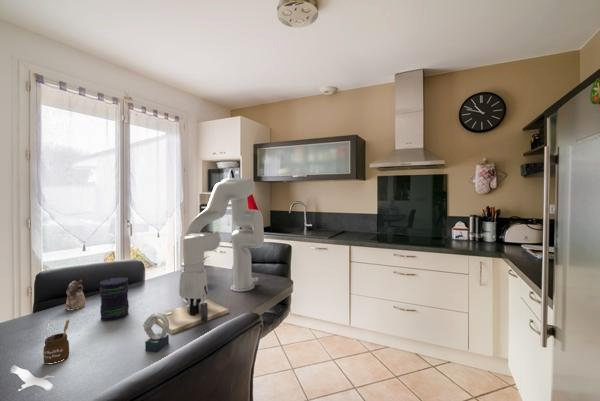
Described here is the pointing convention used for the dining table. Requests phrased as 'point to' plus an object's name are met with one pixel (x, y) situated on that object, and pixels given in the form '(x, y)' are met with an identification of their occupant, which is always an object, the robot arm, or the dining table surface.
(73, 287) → the figurine
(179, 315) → the cutting board
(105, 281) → the storage jar
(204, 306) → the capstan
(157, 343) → the white ring on base
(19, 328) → the dining table surface
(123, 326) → the dining table surface
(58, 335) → the brown rounded container
